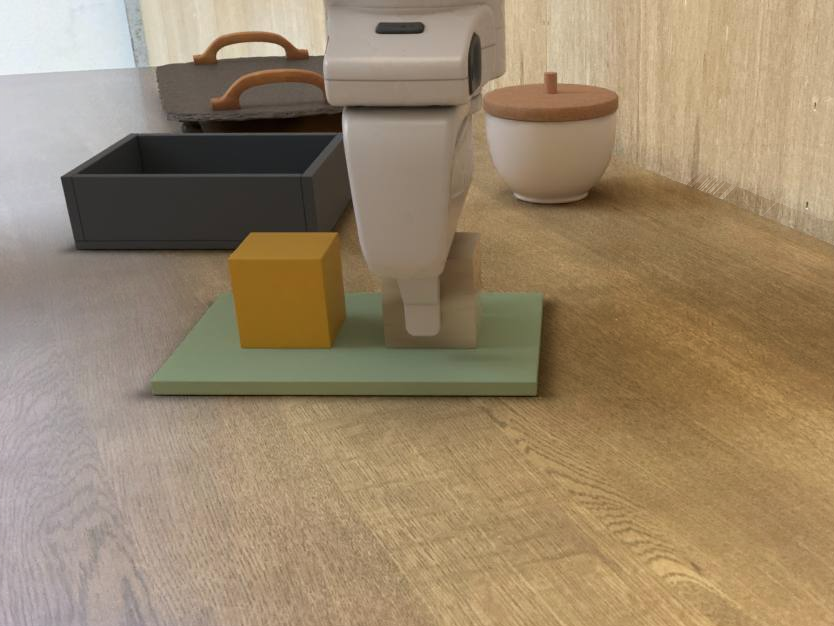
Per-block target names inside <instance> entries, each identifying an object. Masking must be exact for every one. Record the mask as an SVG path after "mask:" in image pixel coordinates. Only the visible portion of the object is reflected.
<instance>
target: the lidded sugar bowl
mask: <svg viewBox="0 0 834 626" xmlns="http://www.w3.org/2000/svg"><path fill="white" fill-rule="evenodd" d="M482 102H483V107H482V109H483V111H484V123H485V125H484V126H485V136H486V142H487V149H488V153H489V157H490V160H491V163H492V165H493V168H494V170H495V172H496V173H497V175H498V177H499V178H500V179H501V180H502V182H503V183H504V184H505V185H506V186H507V187H508V188H509V189H510V190H512V191H513V195H514V197H515V198H516V199H518V200H520V201H523V202H527V203H535V204H566V203H572V202H577V201H580V200H583V199H585V198H587V197H588V195H589V191H590V190H591V189H592V188H593V187H594V186H595V185H596V184H597V183H598V182H599V181H600V180H601V178H602V177H603V176H604V174H605V173H606V170H607V169H608V167H609V164H610V162H611V160H612V156H613V153H614V149H615V148H614V147H615V141H616V135H617V134H616V133H617V111H618V110H619V95H618V93H617V92H616V91H614V90H611V89H609V88H605V87H600V86H596V85H589V84H581V83H580V84H579V83H562V82H561V83H559V82H558V72H557V71H544V72H543V83H529V84H528V83H527V84H526V83H525V84H517V85H516V84H515V85H509V86H504V87H499V88H496V89H493V90H490V91H488V92H486V93H485V94H484V95H483V96H482Z"/></svg>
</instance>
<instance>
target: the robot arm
mask: <svg viewBox="0 0 834 626" xmlns="http://www.w3.org/2000/svg"><path fill="white" fill-rule="evenodd" d="M323 9H324V10H323V11H324V25H325V36H326V45H325V50H324V54H323V55H324V61H323V72H324V78H325V79H324V83H325V92H326V98H327V101H328V102H329V104H330V105H333V106H345V107H344V109H343V113H341V114H342V115H341V126H342V127H341V128H342V133H343V141H344V149H345V156H346V163H347V169H348V175H349V182H350V188H351V194H352V200H351V201H352V206H353V212H354V218H355V224H356V229H357V234H358V240H359V245H360V249H361V252H362V256H363V258H364V261H365V264H366V266H367V268H368V271H369V273H370V274H371V275H373V276H374V277H376V278H380V277H384V278H396V279H397V283H398V286H399V290H400V293H401V296H402V300H403V303H404V309H405V322H406V330H407V331H408V333H409V334H411V335H412V336H435V335H437V334H438V333H439V331H440V327H441V324H442V301H441V295H440V283H439V275H440V274H441V273H442V272H443V270H444V267H445V263H446V260H447V257H448V253H449V250H450V247H451V244H452V241H453V238H454V235H455V232H458V231H457V228H458V225H459V221H460V219H461V215H462V213H463V209H464V206H465V203H466V200H467V197H468V193H469V190H470V187H471V184H472V181H473V177H474V170H475V169H474V168H475V150H474V149H475V148H474V131H473V129H474V128H473V115H474V114H476V113H478V112H480V111H481V110H482V109H483V93H482V91H483V87H485V86H486V85H487V84H488V83H489V82H491V81H494V80H497V79H500V78H501V77H503V76H504V75H505V74H506V72H507V41H506V38H507V37H506V35H507V34H506V2H505V0H323Z"/></svg>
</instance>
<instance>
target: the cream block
mask: <svg viewBox="0 0 834 626" xmlns="http://www.w3.org/2000/svg"><path fill="white" fill-rule="evenodd" d="M480 233H481V232H479V231H456V232H455V235H454V238H453V241H452V244H451V247H450V250H449V253H448V257H447V260H446V263H445V267H444V270H443V272H442V273H441V274H440V275H439V283H440V295H441V301H442V324H441V327H440V331H439V333H438V334H437V335H435V336H412V335H411V334H409V333H408V331H407V330H406V322H405V309H404V303H403V300H402V296H401V293H400V290H399V286H398V283H397V279H396V278H384V277H379V285H380V293H381V299H382V311H383V323H384V336H385V347H386V348H476V347H477V343H478V338H479V333H480V328H481V323H482V318H483V310H482V293H483V286H482V258H481V255H482V254H481V234H480Z"/></svg>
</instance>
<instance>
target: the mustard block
mask: <svg viewBox="0 0 834 626" xmlns="http://www.w3.org/2000/svg"><path fill="white" fill-rule="evenodd" d="M339 235H340V234H339V232H335V231H331V232H251V233H250V234H249V235H248V236H247V237H246V239H245V240H244V241H243V242H242V243H241V244H240V245H239V247H238V248H237V249H234V251H233V252H232V253H231V254H230V255H229V257H228V258H227V264H228V271H229V277H230V285H231V291H232V292H233V299H234V306H235V312H236V319H237V325H238V332H239V338H240V345H241V348H331V347H332V345H333V343H334V341H335V339H336V337H337V335H338V333H339V331H340V329H341V327H342V325H343V323H344V321H345V319H346V317H347V315H346V305H345V295H344V293H345V286H344V278H343V277H344V276H343V275H344V274H343V267H342V265H343V264H342V256H341V245H340V236H339Z"/></svg>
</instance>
